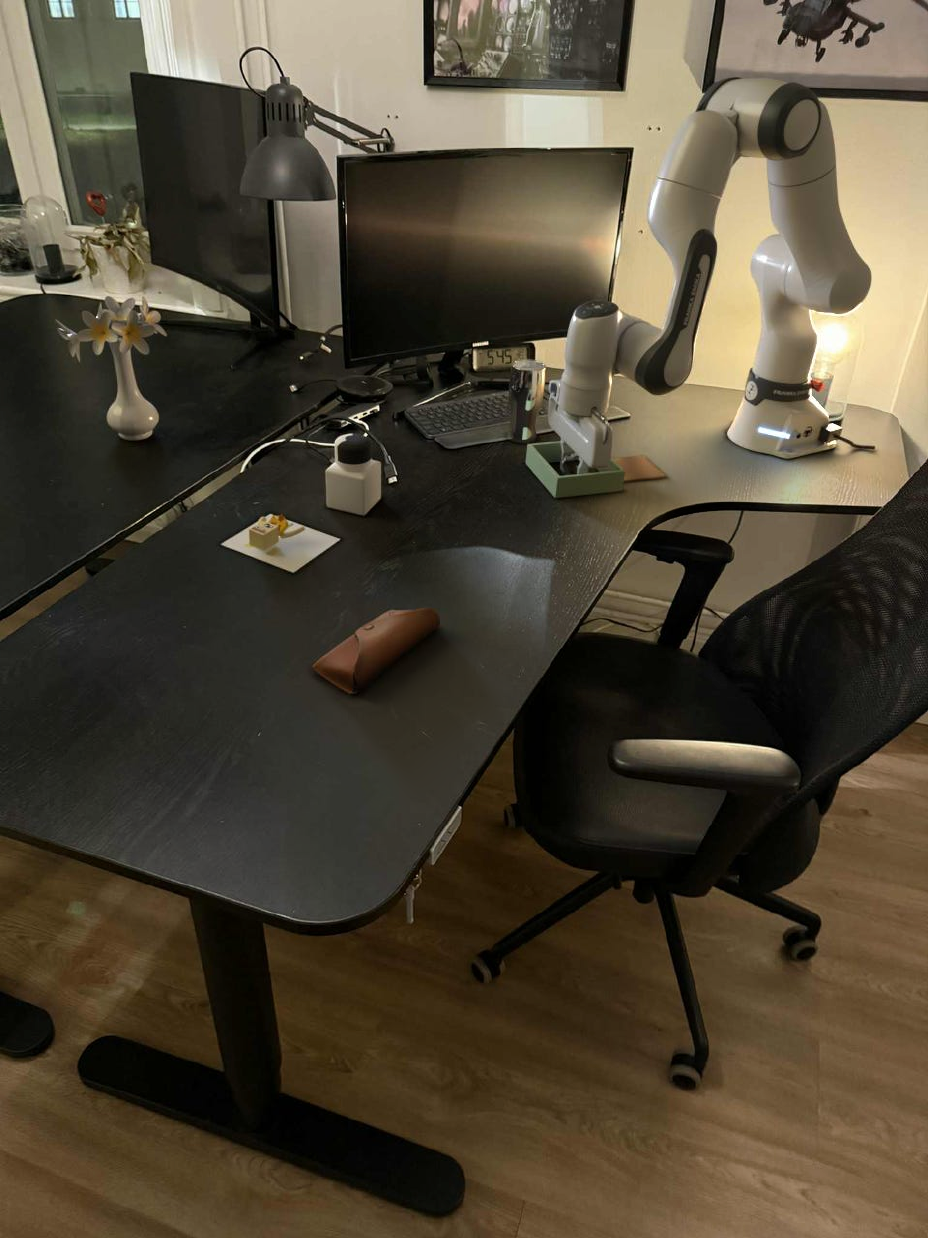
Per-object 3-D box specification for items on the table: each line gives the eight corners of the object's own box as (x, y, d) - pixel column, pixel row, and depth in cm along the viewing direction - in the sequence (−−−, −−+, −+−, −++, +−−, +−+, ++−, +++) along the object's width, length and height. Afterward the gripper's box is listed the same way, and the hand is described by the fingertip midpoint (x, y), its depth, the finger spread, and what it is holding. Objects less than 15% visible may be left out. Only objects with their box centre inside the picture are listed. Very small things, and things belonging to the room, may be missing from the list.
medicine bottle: (381, 498, 151) (381, 434, 143) (364, 516, 145) (363, 451, 138) (344, 490, 152) (342, 426, 145) (326, 507, 147) (323, 442, 140)
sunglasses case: (391, 605, 124) (412, 580, 119) (425, 641, 123) (447, 617, 118) (307, 669, 111) (326, 644, 106) (344, 709, 111) (364, 685, 106)
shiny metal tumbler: (536, 446, 172) (544, 373, 163) (501, 441, 173) (508, 368, 164) (540, 432, 177) (549, 361, 169) (507, 428, 178) (514, 356, 169)
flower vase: (70, 438, 162) (40, 302, 148) (156, 412, 174) (136, 284, 159) (108, 461, 156) (80, 321, 141) (195, 433, 168) (177, 301, 153)
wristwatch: (574, 479, 164) (558, 459, 162) (596, 467, 161) (580, 446, 159) (570, 487, 162) (555, 467, 160) (593, 475, 159) (577, 455, 157)
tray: (588, 457, 169) (591, 438, 167) (621, 490, 158) (625, 471, 156) (525, 463, 165) (527, 443, 163) (555, 498, 154) (557, 477, 152)
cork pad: (642, 457, 171) (642, 455, 170) (665, 477, 164) (665, 475, 164) (601, 461, 168) (601, 459, 168) (622, 482, 161) (623, 480, 161)
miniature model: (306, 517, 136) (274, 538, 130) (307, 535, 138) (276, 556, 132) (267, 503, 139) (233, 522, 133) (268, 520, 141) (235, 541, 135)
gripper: (626, 419, 146) (613, 492, 154) (576, 376, 161) (567, 444, 170) (593, 422, 144) (581, 496, 152) (545, 378, 160) (537, 447, 168)
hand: (573, 468), depth 161 cm, fingers open, 5 cm apart
